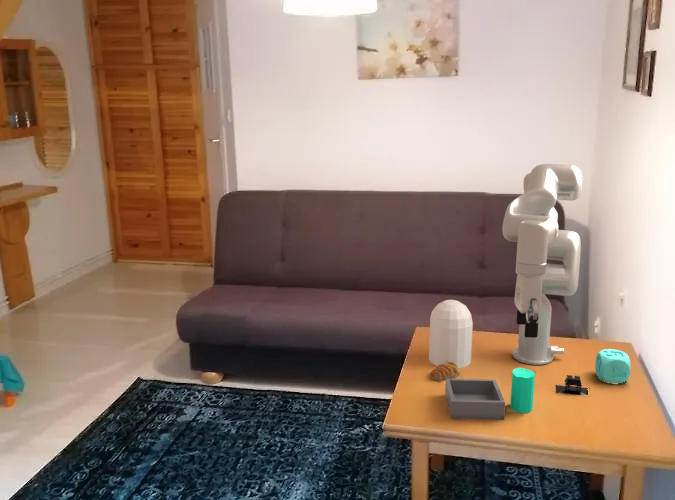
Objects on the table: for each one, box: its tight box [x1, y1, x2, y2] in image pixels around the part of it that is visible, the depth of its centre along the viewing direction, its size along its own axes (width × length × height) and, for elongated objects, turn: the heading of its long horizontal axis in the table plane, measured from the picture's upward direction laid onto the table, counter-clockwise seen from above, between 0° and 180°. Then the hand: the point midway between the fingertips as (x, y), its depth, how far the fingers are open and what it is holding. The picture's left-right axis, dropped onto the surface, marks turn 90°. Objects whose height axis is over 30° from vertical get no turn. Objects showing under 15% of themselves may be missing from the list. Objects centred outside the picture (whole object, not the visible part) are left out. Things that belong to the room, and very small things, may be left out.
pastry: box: [430, 362, 461, 382], centre depth 202 cm, size 9×7×4 cm
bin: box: [444, 378, 506, 421], centre depth 182 cm, size 14×14×5 cm
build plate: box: [555, 374, 589, 397], centre depth 192 cm, size 12×7×5 cm, turn 75°
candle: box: [509, 367, 536, 414], centre depth 181 cm, size 6×6×12 cm
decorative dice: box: [594, 348, 632, 384], centre depth 199 cm, size 8×8×8 cm
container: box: [428, 299, 474, 369], centre depth 212 cm, size 14×13×20 cm
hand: (526, 330), depth 177 cm, fingers open, 9 cm apart
